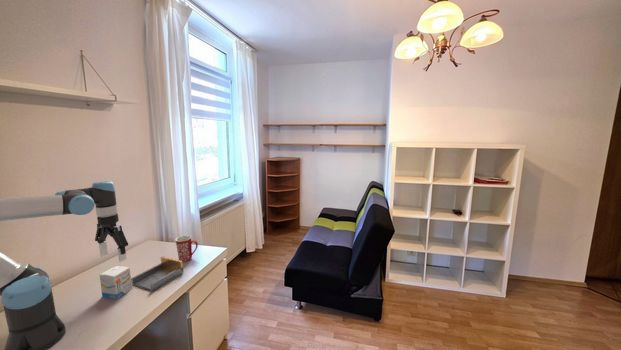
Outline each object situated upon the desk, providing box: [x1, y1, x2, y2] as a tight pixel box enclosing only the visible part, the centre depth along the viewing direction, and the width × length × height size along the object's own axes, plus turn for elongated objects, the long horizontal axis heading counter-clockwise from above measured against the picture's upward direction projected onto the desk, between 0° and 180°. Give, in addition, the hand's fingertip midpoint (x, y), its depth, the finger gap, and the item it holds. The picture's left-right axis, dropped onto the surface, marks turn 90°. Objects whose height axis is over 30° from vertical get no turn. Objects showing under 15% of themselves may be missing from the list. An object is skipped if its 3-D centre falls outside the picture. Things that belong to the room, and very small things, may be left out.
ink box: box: [99, 265, 133, 300], centre depth 121 cm, size 9×8×12 cm
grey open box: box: [131, 256, 184, 292], centre depth 133 cm, size 18×15×7 cm
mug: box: [174, 234, 199, 263], centre depth 154 cm, size 13×9×14 cm
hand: (113, 257), depth 119 cm, fingers open, 13 cm apart
